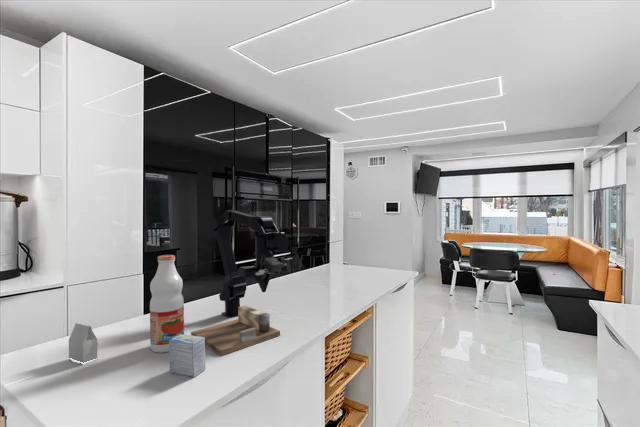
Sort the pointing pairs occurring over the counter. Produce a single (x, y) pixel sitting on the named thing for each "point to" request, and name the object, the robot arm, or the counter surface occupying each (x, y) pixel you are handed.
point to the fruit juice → (166, 305)
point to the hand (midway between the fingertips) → (263, 291)
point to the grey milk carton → (82, 343)
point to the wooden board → (233, 336)
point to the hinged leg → (254, 318)
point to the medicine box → (187, 355)
